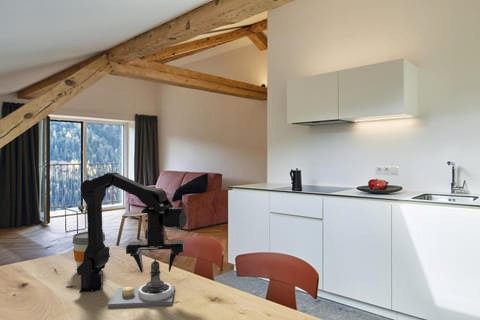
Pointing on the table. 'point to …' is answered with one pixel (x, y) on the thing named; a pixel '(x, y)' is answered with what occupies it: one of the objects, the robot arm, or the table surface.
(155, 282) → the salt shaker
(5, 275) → the table surface
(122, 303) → the socket board
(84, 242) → the reusable coffee cup
